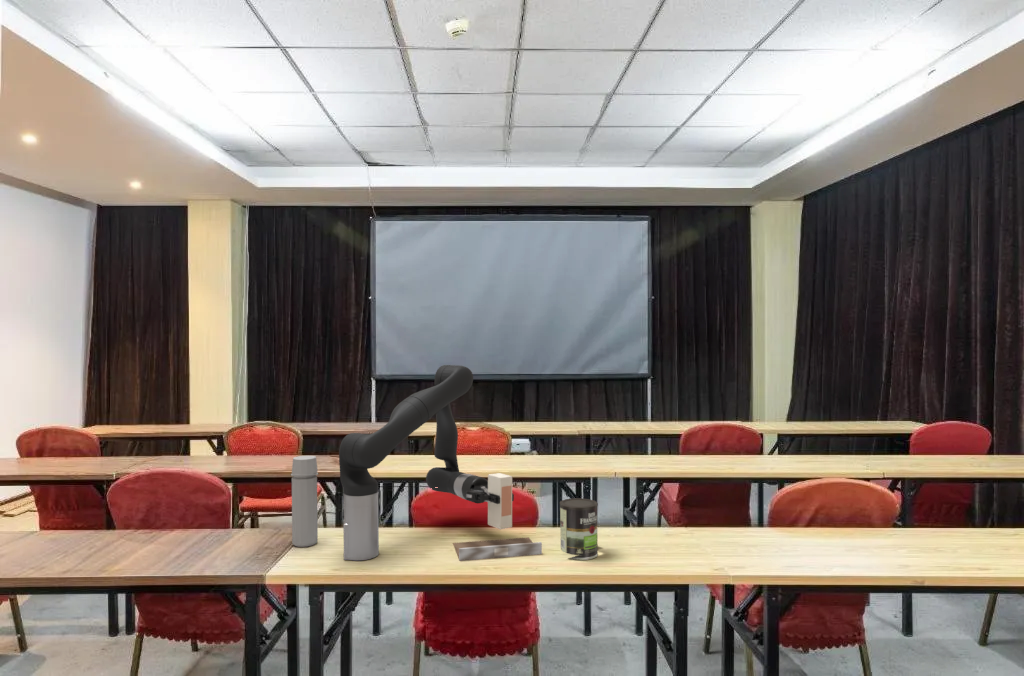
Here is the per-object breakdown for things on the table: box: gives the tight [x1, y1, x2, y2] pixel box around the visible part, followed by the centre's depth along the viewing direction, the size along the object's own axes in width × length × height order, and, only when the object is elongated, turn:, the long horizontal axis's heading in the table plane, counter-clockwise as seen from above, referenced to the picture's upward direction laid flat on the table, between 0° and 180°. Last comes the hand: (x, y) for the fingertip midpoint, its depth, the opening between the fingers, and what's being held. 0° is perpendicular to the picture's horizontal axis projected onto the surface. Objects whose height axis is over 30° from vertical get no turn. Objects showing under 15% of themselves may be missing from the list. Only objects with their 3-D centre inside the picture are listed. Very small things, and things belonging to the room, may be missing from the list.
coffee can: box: [559, 497, 599, 561], centre depth 178 cm, size 10×10×14 cm
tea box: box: [487, 472, 513, 530], centre depth 182 cm, size 4×6×14 cm, turn 37°
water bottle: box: [290, 455, 319, 548], centre depth 190 cm, size 9×8×25 cm
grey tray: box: [452, 537, 543, 562], centre depth 178 cm, size 22×15×4 cm
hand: (505, 498), depth 179 cm, fingers closed on tea box, 4 cm apart
